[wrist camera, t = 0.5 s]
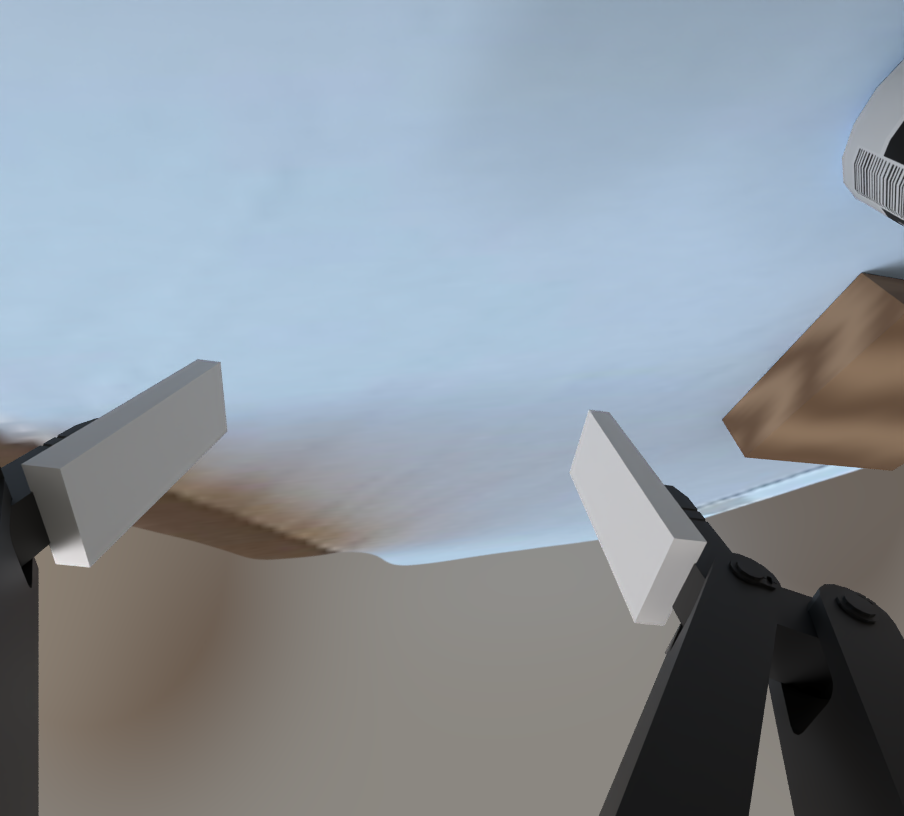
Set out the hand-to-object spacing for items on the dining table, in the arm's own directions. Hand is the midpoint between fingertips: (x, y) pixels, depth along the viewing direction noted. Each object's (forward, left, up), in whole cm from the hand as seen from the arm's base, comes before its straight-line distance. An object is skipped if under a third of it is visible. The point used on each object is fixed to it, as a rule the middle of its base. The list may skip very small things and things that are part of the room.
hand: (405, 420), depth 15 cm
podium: (+4, +35, -13) cm, 37 cm away
